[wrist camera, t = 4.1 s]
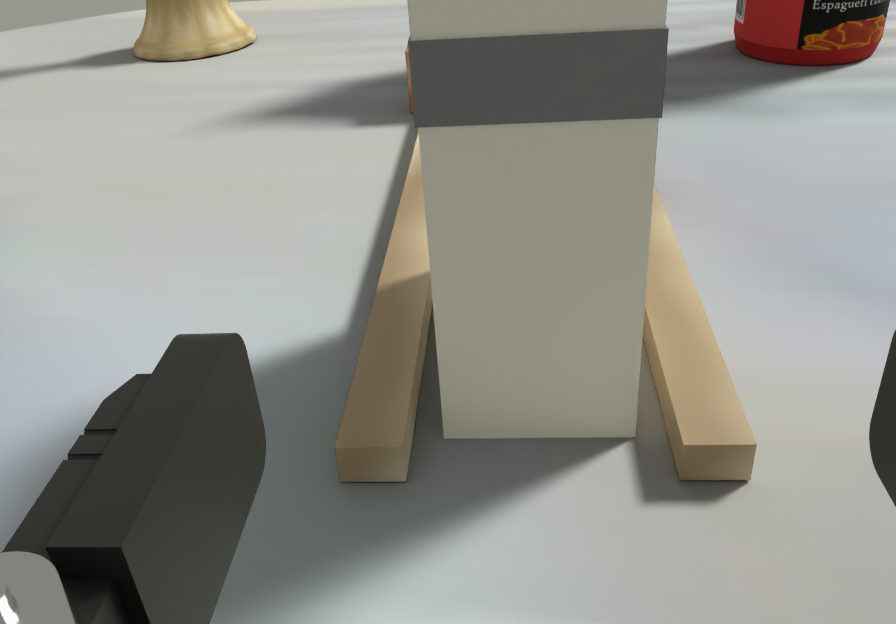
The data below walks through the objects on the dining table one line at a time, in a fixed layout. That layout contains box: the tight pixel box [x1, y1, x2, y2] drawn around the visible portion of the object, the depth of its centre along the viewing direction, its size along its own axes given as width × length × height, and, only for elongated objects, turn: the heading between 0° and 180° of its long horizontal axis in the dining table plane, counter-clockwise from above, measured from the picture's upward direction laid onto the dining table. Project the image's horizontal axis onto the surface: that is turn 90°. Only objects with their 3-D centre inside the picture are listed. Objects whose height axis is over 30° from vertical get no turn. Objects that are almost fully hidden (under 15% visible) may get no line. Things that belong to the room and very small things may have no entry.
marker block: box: [407, 0, 669, 439], centre depth 20 cm, size 5×7×11 cm, turn 177°
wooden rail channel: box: [334, 46, 756, 482], centre depth 29 cm, size 11×28×3 cm, turn 177°
